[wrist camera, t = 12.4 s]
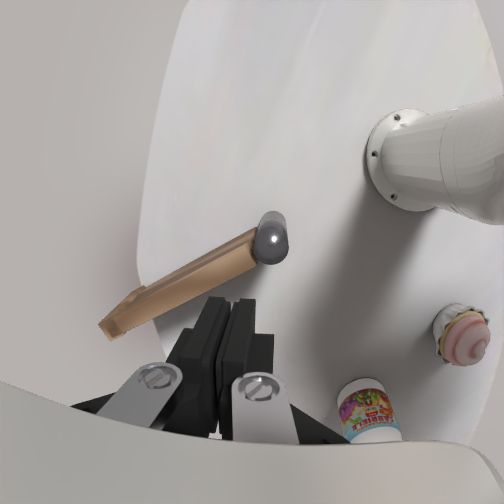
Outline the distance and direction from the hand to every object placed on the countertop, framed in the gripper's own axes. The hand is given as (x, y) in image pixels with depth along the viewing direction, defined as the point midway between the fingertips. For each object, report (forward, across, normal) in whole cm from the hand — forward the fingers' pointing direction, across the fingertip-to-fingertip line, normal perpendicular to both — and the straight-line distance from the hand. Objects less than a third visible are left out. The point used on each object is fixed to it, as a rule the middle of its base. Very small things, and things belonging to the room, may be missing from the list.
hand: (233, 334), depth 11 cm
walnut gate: (+26, +9, +7) cm, 28 cm away
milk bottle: (+27, -16, +27) cm, 42 cm away
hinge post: (+27, -1, +1) cm, 27 cm away
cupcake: (+27, -28, +14) cm, 42 cm away
